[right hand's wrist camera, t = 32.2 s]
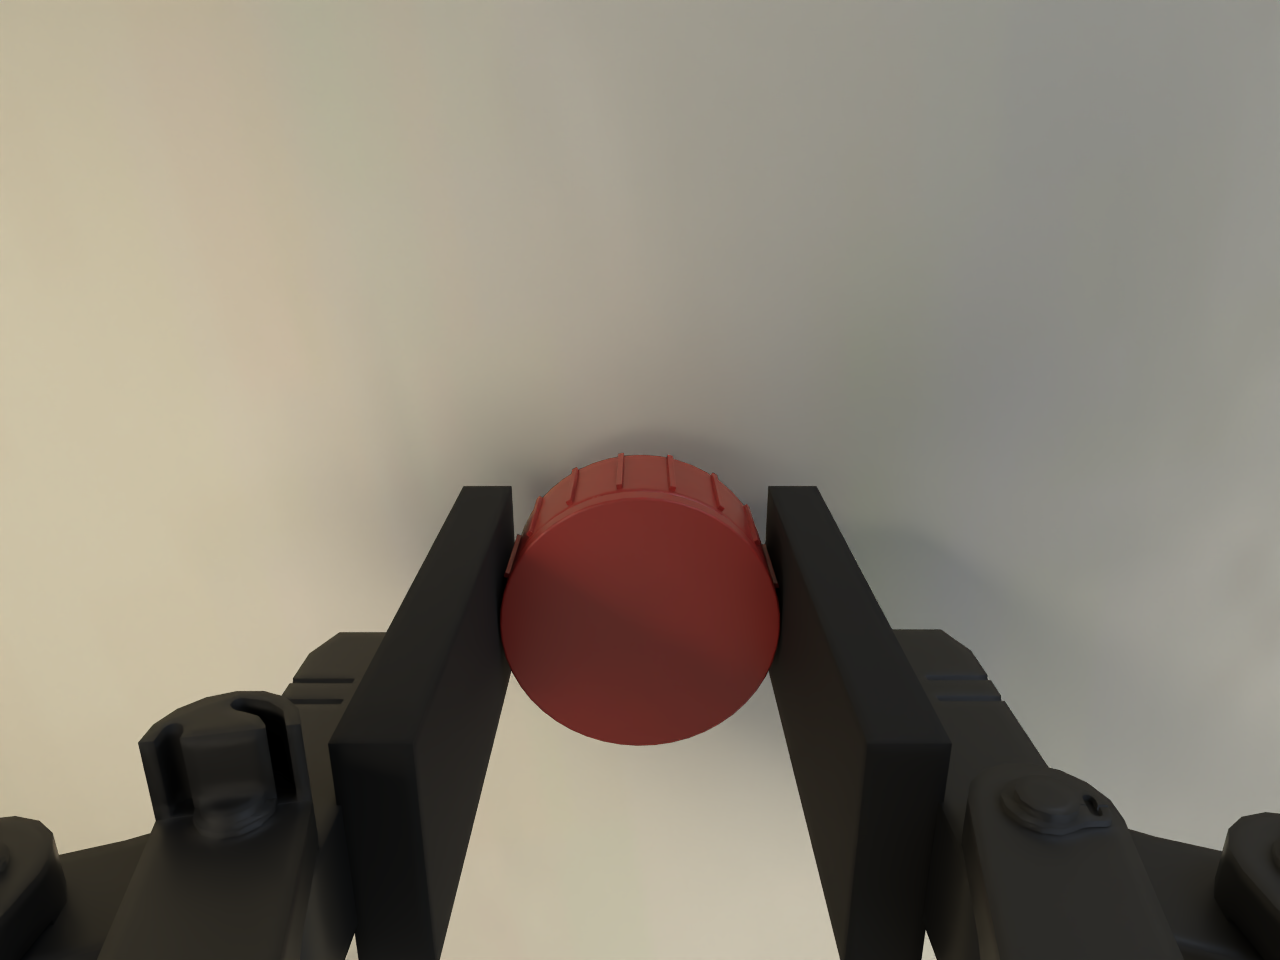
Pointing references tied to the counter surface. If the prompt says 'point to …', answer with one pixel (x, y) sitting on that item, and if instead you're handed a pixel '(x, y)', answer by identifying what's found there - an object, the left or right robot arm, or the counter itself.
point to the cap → (640, 602)
